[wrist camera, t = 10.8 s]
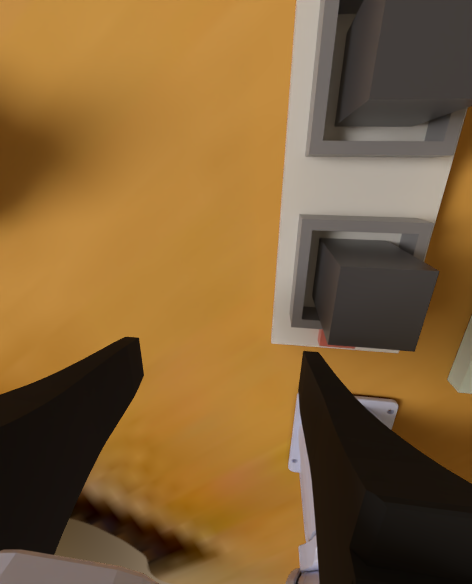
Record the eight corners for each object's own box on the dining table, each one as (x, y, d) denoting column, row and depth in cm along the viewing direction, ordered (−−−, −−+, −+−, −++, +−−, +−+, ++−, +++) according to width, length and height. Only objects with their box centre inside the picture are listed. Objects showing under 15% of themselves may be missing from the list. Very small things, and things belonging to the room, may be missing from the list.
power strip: (391, 344, 21) (445, 420, 15) (271, 335, 22) (271, 402, 16) (502, -71, 13) (750, -334, 6) (300, -57, 14) (326, -273, 7)
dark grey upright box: (411, 126, 15) (493, 98, 9) (334, 126, 15) (368, 99, 10) (433, 29, 13) (545, -71, 8) (346, 32, 14) (395, -62, 8)
